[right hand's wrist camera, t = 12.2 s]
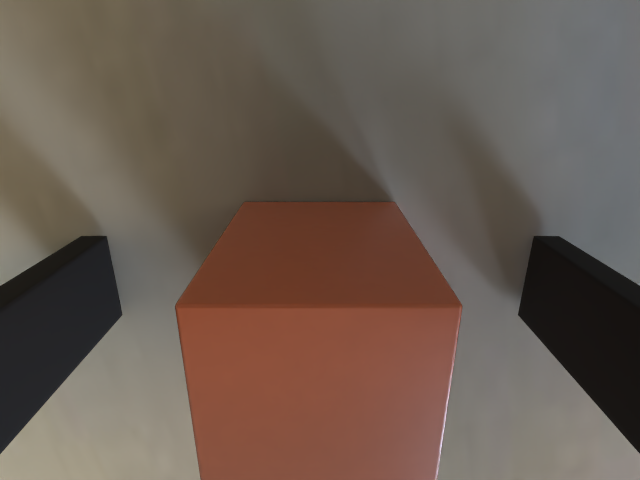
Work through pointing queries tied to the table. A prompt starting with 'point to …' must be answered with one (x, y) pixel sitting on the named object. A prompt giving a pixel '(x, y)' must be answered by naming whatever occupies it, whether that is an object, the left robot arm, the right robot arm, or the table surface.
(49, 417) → the table surface
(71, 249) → the right robot arm
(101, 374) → the table surface
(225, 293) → the terracotta block
